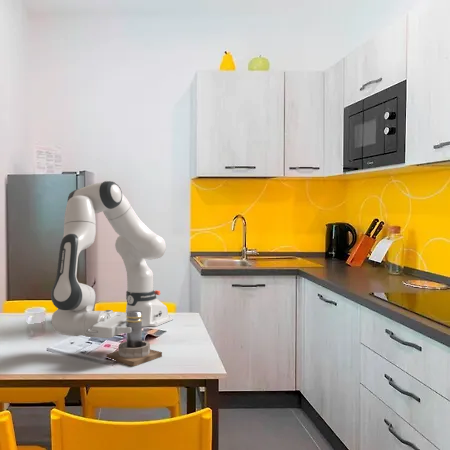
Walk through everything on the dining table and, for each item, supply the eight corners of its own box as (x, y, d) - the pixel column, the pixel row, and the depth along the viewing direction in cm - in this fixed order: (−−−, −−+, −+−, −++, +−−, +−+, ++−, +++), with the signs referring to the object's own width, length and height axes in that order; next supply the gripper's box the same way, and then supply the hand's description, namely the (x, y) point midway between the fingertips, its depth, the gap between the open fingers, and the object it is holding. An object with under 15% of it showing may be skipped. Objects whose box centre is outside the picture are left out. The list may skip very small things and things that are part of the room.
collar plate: (135, 349, 177) (134, 337, 177) (161, 356, 170) (161, 343, 170) (106, 358, 167) (106, 345, 167) (133, 366, 159) (133, 352, 159)
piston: (134, 350, 172) (134, 309, 171) (145, 352, 169) (145, 311, 168) (123, 353, 168) (123, 312, 167) (134, 356, 165) (133, 314, 164)
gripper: (83, 322, 160) (124, 324, 157) (110, 308, 180) (147, 310, 177) (83, 341, 160) (124, 344, 158) (110, 326, 180) (147, 328, 178)
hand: (136, 326), depth 168 cm, fingers open, 8 cm apart
